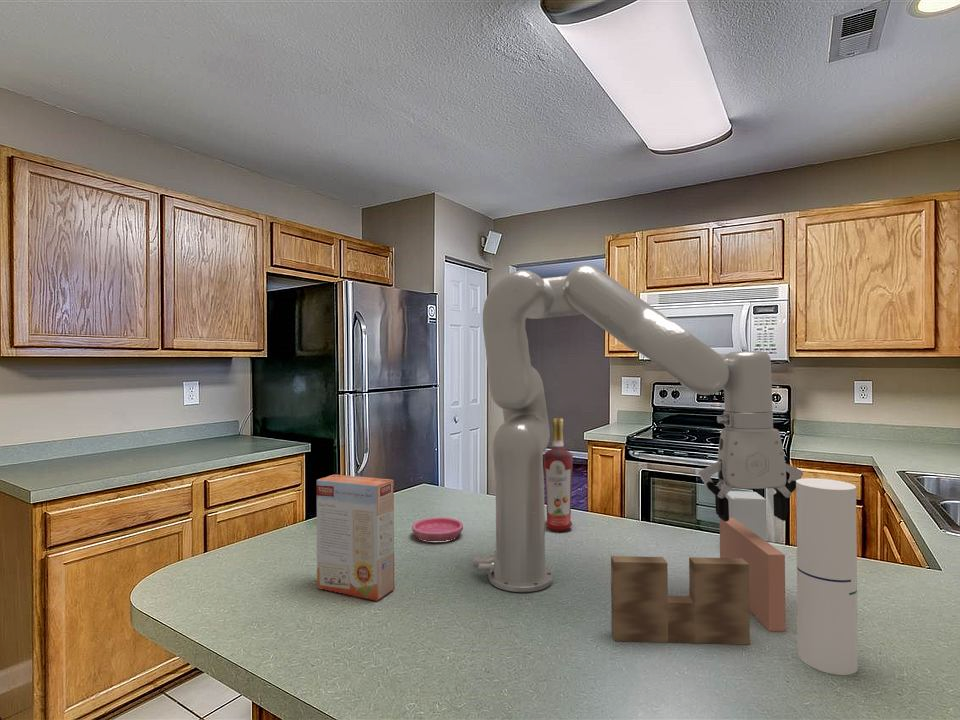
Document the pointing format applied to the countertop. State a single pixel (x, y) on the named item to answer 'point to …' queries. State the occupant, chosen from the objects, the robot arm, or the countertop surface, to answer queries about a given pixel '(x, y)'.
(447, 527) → the saucer
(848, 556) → the cylindrical container
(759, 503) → the supplement box
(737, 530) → the terracotta slotted plate
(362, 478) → the cracker box
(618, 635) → the walnut slotted plate
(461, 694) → the countertop surface
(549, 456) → the liquor
